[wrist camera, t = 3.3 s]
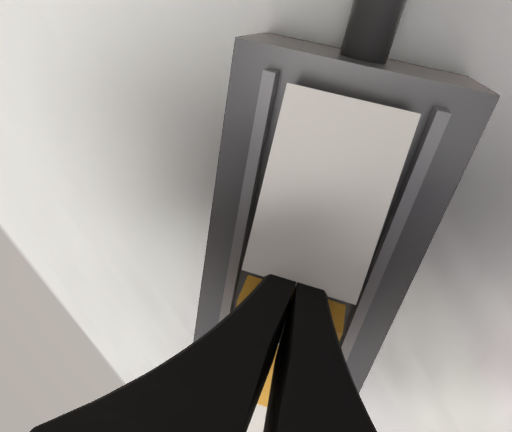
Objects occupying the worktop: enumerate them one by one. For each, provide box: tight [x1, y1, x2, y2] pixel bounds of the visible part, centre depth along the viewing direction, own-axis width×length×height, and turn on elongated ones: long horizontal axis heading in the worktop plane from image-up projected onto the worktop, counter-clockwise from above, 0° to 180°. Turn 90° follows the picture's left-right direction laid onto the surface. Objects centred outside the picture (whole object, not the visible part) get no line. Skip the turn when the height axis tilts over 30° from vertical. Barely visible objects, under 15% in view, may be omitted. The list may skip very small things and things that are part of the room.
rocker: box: [242, 83, 421, 305], centre depth 9 cm, size 4×3×1 cm, turn 170°
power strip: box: [193, 0, 500, 393], centre depth 13 cm, size 21×6×4 cm, turn 170°
